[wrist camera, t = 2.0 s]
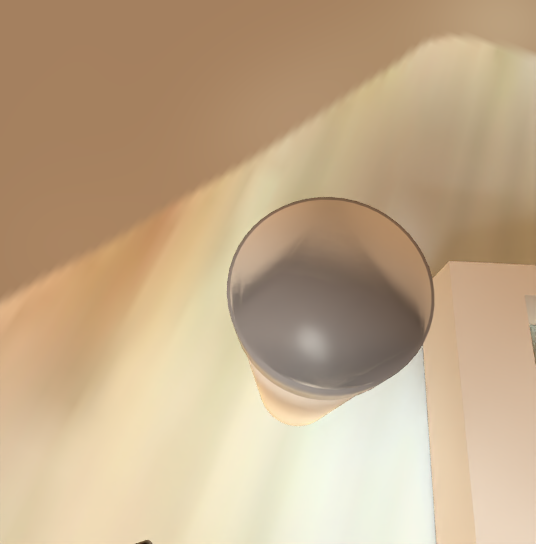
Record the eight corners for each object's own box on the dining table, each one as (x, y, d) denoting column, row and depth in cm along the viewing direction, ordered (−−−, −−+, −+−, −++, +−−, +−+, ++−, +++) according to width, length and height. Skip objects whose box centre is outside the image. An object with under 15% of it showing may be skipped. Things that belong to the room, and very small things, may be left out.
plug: (351, 390, 20) (478, 294, 7) (294, 444, 19) (327, 442, 7) (298, 333, 21) (331, 164, 8) (242, 383, 20) (185, 278, 8)
